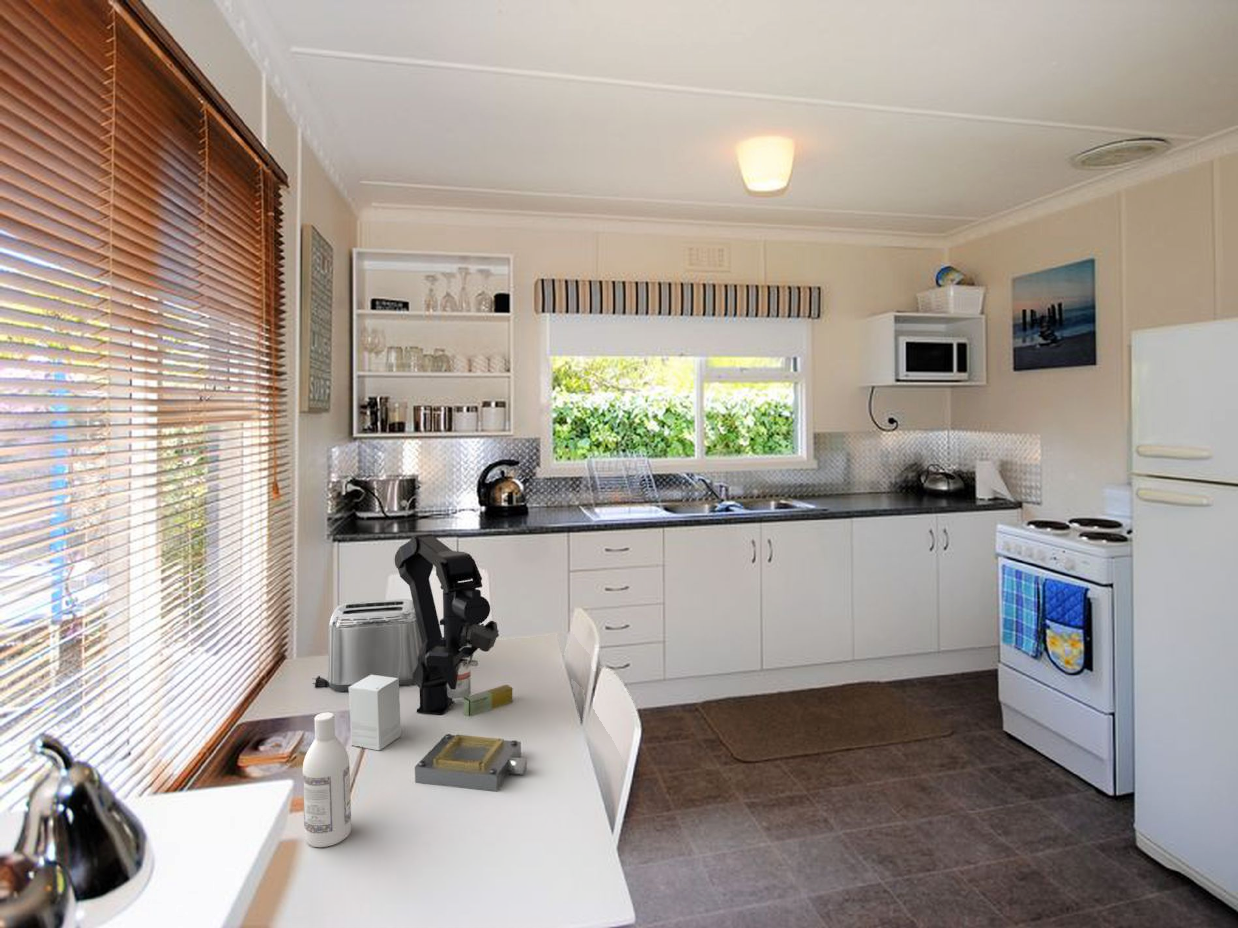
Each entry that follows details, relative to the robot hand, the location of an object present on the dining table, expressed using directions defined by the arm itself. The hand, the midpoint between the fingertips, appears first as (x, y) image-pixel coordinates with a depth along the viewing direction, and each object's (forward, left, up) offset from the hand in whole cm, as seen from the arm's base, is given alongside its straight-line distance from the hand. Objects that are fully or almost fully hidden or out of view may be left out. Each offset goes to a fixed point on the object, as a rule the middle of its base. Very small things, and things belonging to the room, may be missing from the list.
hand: (458, 684), depth 147 cm
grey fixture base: (+10, -15, -10) cm, 21 cm away
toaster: (-33, +23, -10) cm, 42 cm away
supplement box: (-15, -8, -10) cm, 20 cm away
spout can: (0, 0, -2) cm, 2 cm away
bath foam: (-5, -39, -10) cm, 41 cm away
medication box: (+2, +12, -11) cm, 16 cm away
